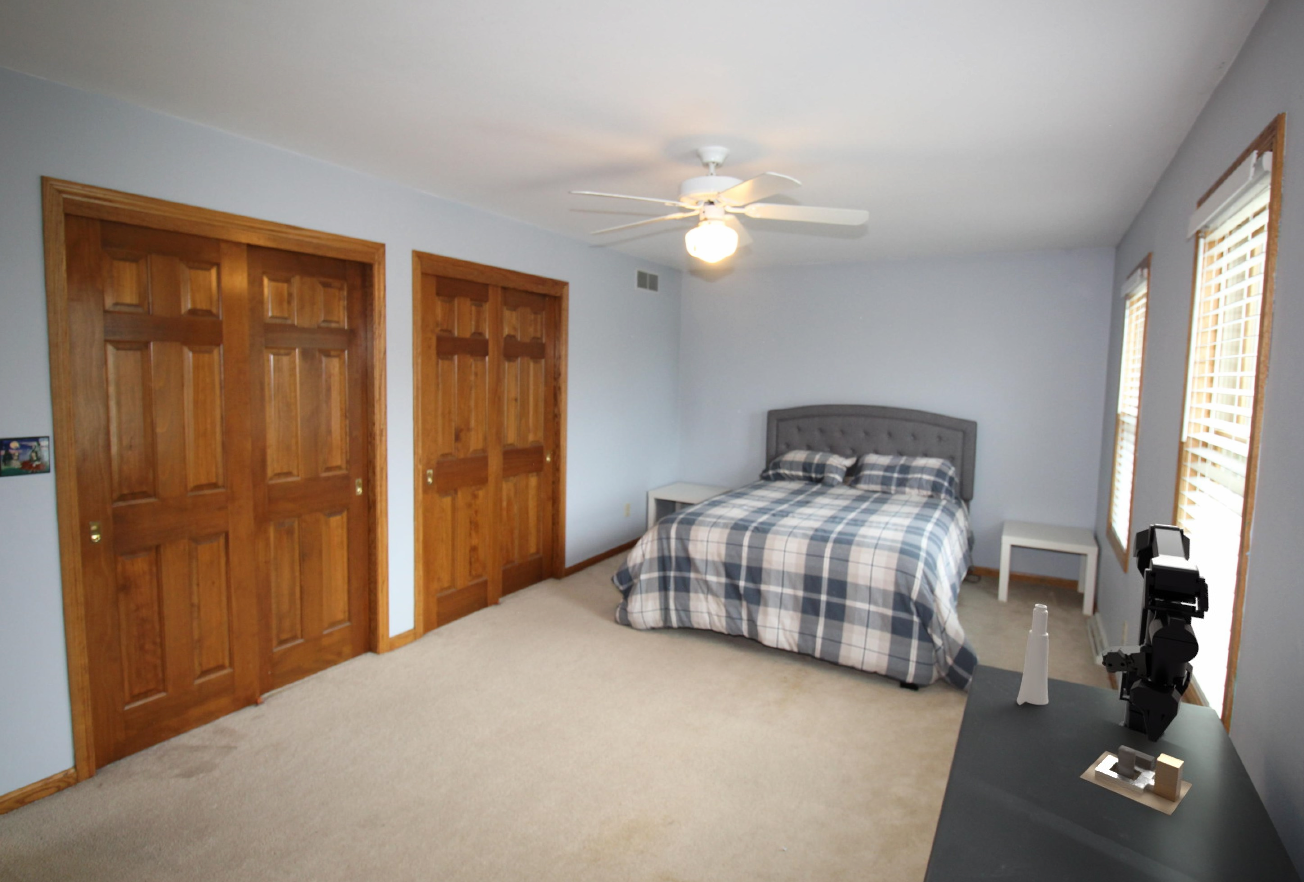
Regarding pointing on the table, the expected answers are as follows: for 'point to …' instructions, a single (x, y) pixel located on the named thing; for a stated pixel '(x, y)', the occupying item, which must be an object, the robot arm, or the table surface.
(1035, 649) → the cosmetic bottle
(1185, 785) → the maple peg board
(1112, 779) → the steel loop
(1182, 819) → the table surface
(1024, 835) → the table surface
